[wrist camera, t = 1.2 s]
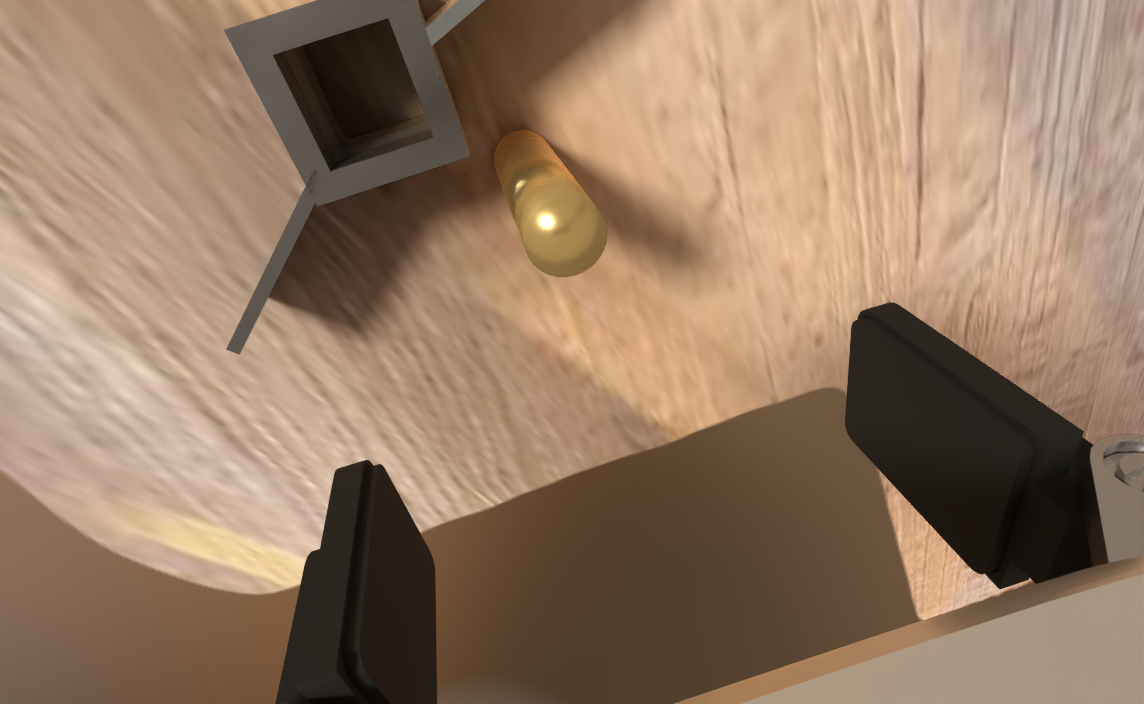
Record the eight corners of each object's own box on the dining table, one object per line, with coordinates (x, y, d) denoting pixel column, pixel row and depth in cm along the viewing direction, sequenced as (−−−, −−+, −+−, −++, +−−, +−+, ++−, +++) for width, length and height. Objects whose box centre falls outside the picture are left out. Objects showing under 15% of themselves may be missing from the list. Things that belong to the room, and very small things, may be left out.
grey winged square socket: (558, -93, 27) (588, -111, 22) (618, 182, 34) (651, 216, 29) (99, 52, 26) (22, 67, 21) (260, 301, 33) (231, 357, 28)
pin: (542, 121, 32) (596, 184, 22) (558, 179, 33) (615, 261, 23) (485, 140, 31) (513, 212, 21) (504, 196, 33) (538, 287, 23)
